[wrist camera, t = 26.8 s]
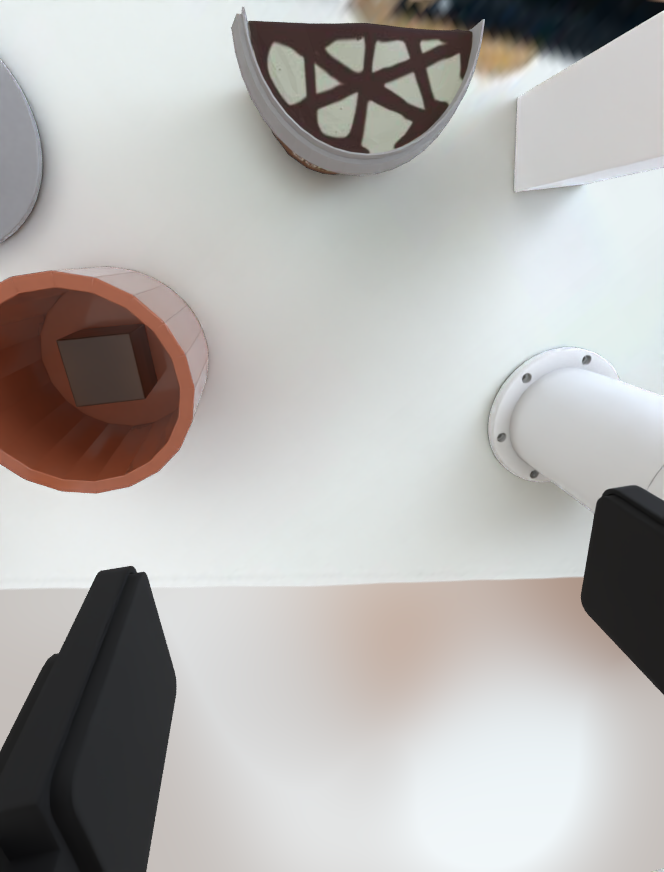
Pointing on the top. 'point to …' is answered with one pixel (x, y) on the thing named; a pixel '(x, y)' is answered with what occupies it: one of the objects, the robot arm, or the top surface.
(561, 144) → the milk
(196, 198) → the top surface
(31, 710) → the robot arm
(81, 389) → the block
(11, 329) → the canister
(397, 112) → the food container
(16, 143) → the lid
